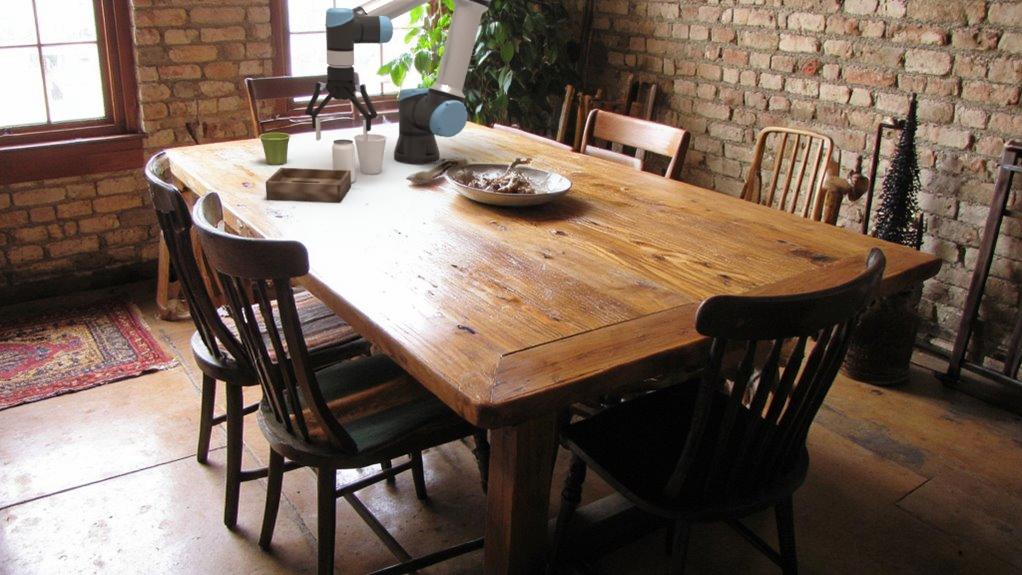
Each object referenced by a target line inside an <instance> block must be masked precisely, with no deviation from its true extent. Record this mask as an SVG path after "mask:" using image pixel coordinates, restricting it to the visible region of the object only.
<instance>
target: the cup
mask: <svg viewBox="0 0 1022 575" xmlns="http://www.w3.org/2000/svg"><path fill="white" fill-rule="evenodd" d="M367 137H368V141H367V142H366V143H363V133H361V134H357V135H354V137H353V139H354V142H355V148H356V150H357V151H356V152H357V156H358V162H359V169H360V172H361V173H362V174H363V175H369V176H371V175H373V176H374V175H378V174H380V173H382V171H383V170H382V169H383V161H384V154H385V150H386V142H387V139H388V137H387V136H386V135H383V134H377V133H367Z"/></svg>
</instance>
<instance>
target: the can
mask: <svg viewBox="0 0 1022 575" xmlns="http://www.w3.org/2000/svg"><path fill="white" fill-rule="evenodd" d="M332 142H333V144H332V147H331V152H332V153H331V154H332V156H331V157H332V158H331V159H332V170H351V184H353V183H355V182H356V151H355V148H356V146H355V145H354V143H353V140H351V139H336V140H333V141H332Z"/></svg>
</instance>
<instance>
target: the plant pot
mask: <svg viewBox="0 0 1022 575" xmlns="http://www.w3.org/2000/svg"><path fill="white" fill-rule="evenodd" d="M258 136H259V139H260V140H261V143H262V148H263V152H264V157H265V162H266V164H268V165H269V166H279V165H285V164H287V159H288V150H289V149H288V148H289V142H290V138H291V135H290V134H289V133H284V132H268V133H262V134H260V135H258Z"/></svg>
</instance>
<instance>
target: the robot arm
mask: <svg viewBox="0 0 1022 575" xmlns="http://www.w3.org/2000/svg"><path fill="white" fill-rule="evenodd" d="M431 1H432V0H369V1H366V2H365V3H363V4H360V5H358V6H356V7H354V8H347V7H329V8H327V9H326V13H325V37H326V38H325V40H326V64H327V67H326V77H327V78H326V83H325V82H322V81H317V82H316V83H315V89H314V92H313V95H312V96H311V99H310V101H309V103H308V106H306V110H305V112H304V113H305V114H306V115H307V116H310V117H311V127H312V129H315V136H316V137H315V139H316V140H315V141H320V140H321V139H322V137H321V135H322V132H321V129H322V128H321V127H322V126H321V116H320V115H319V113H321V111H322V110H324V108H325V106H327V104H328V103H329V102H330V101H331V100H332V99H333V100H336V101H337V100H342V101H347V100H349V101H350V102H351V103H352V104H353V105H354V106H355V108H356V109H357V110H358V111H359V113H360V114H361V115H362V116H363V117H364V119H363V120H362V125H363V126H362V130H363V131H362V132H363V133H362V134H363V143H366V142H367V141H368V137H367V134H368V132H370V131H371V130H372V120H374V119H376V118H377V117H378V112H377V110H376V108H375V106H374V105H373V103H372V101H371V99H370V96H369V94H368V93H367V85H366V84H365V83H362V84H356V83H355V67H353V66H354V65H355V44H356V45H358V44H378V45H380V44H387V43H389V42H390V41H391V40H392V38H393V34H394V30H393V29H394V26H393V22H392V20H393V19H396V18H398V17H400V16H402V15H404V14H407V13H408V12H410V11H412V10H415V9H417V8H419V7H420V6H423V5H424V4H427V3H429V2H431ZM438 1H440V0H434V2H438ZM491 1H493V0H452V3H453V5H454V9H453V12H452V16H451V21H450V24H449V28H448V32H447V36H446V40H445V43H444V47H443V51H442V56H441V58H440V59H441V60H440V63H439V68H438V70H437V75H436V80H435V83H434V84H432V85H430V86H429V87H419V88H418V87H417V88H415V87H414V88H405V89H401V90H400V91H399V93H398V99H397V101H398V102H397V103H398V138H397V141H396V145H395V148H394V150H393V160H395V161H396V162H399V163H404V164H411V165H412V164H413V165H426V164H432V163H433V164H434V163H437V162H439V161H440V160H441V157H440V156H441V152H440V148H439V146H438V142H437V140H436V136H437V137H444V138H451V137H455V136H456V135H458V134H459V133H460V132H462V131H463V130H464V128H465V127H466V124H467V121H468V111H467V107H466V106H465V100H466V96H465V94H464V93H463V88H464V85H465V80H466V76H467V73H468V69H469V65H470V63H471V58H472V54H473V50H474V45H475V42H476V39H477V34H478V30H479V26H480V23H481V19H482V15H483V14H484V13H486V12H487V11H488V10H489V8H490V5H491ZM324 89H326V90H327V91H328V94H327V95H326V96H325V98H324V99H323V100H322V101H321V102H320V104H318V106H317V107H316V109H315V110H313V109H314V107H315V104H316V103H317V102H318V101H317V100H318V99H319V96H320V94H321V92H322V91H324ZM356 90H357V92H358V93H359V94H361V97H362V99H363V101H364V103H365V105H366V108H365V107H364V105H363V104H362V103H361V101H360V100H359V99H358V98H357V95H355V94H354V93H355V91H356ZM367 109H368V110H367ZM368 111H369V112H368ZM439 159H440V160H439ZM438 160H439V161H438ZM436 161H437V162H436Z"/></svg>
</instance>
